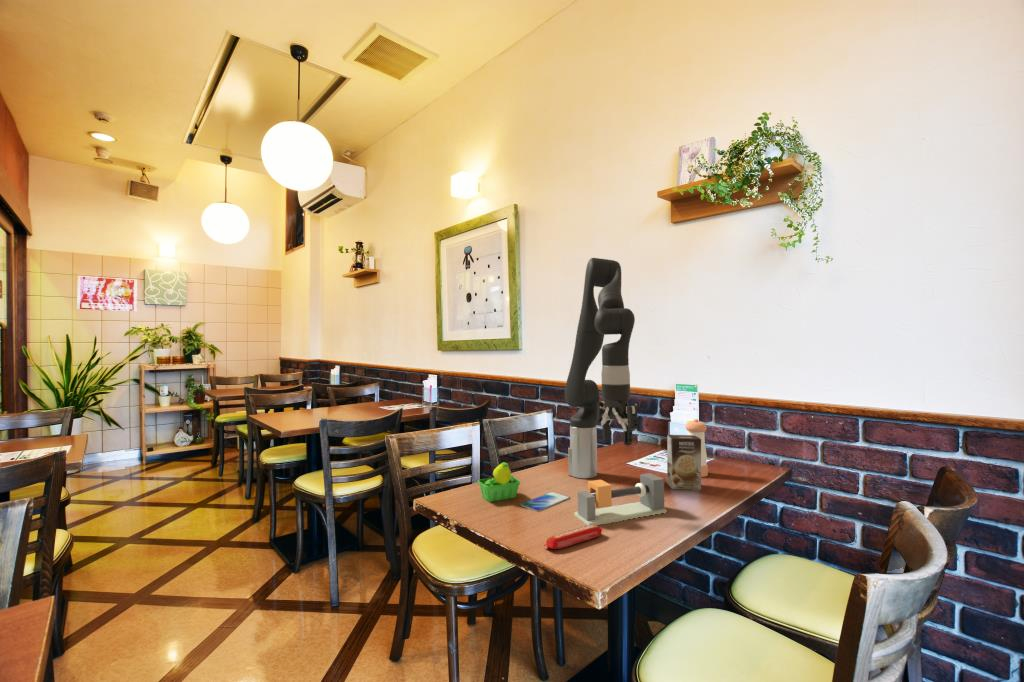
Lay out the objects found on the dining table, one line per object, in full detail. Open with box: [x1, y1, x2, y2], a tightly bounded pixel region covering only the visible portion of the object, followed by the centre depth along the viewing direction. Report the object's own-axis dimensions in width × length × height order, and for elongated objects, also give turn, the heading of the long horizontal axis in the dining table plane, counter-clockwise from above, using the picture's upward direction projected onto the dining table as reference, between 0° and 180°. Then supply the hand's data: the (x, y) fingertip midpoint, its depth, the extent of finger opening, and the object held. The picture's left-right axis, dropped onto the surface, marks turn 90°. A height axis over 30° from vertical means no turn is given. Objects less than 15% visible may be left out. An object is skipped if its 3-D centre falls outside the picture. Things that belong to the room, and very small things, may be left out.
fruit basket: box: [477, 462, 521, 503], centre depth 138 cm, size 11×9×11 cm
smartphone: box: [520, 491, 571, 513], centre depth 134 cm, size 7×1×15 cm
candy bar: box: [543, 525, 604, 550], centre depth 107 cm, size 16×4×3 cm, turn 122°
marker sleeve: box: [587, 479, 613, 509], centre depth 121 cm, size 4×5×6 cm
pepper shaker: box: [685, 418, 709, 478], centre depth 159 cm, size 7×7×19 cm
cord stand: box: [573, 472, 668, 526], centre depth 124 cm, size 24×8×9 cm, turn 110°
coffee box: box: [666, 434, 702, 491], centre depth 146 cm, size 9×6×16 cm
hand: (616, 442), depth 123 cm, fingers open, 8 cm apart
